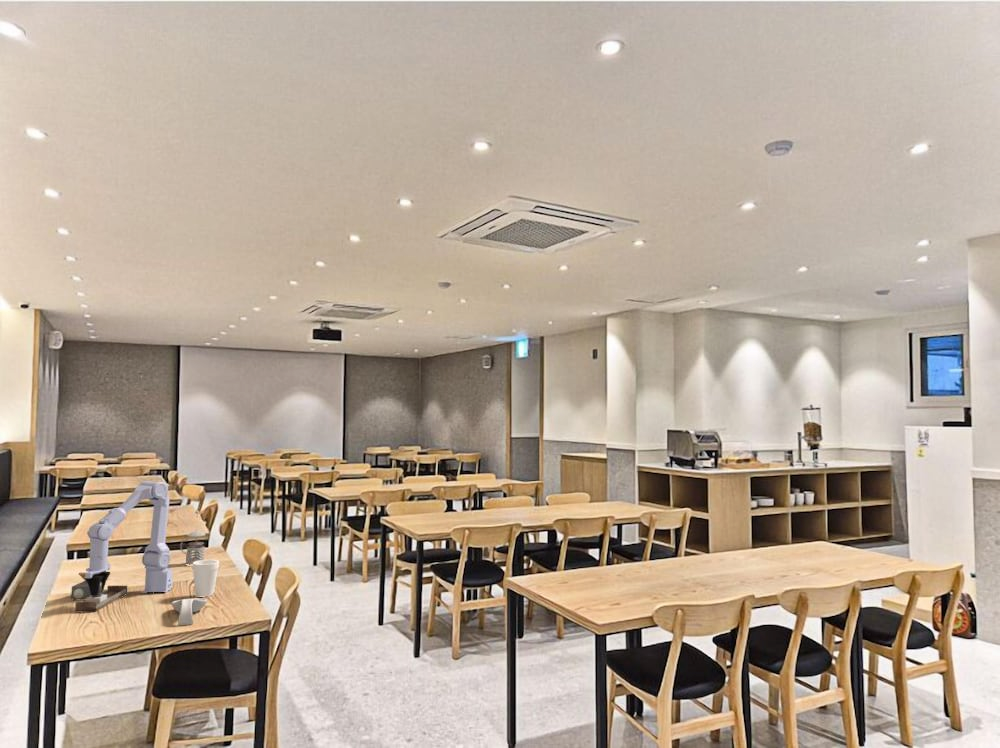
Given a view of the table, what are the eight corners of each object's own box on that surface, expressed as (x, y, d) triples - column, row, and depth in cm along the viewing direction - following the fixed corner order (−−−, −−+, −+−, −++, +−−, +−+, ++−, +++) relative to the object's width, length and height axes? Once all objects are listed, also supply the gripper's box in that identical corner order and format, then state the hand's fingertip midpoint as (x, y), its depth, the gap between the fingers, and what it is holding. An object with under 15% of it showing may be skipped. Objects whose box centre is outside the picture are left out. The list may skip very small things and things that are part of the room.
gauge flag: (96, 581, 265) (96, 579, 265) (89, 574, 259) (89, 572, 260) (85, 581, 264) (86, 579, 265) (78, 574, 259) (78, 572, 259)
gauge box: (99, 593, 266) (100, 580, 266) (85, 600, 256) (86, 586, 256) (84, 593, 265) (85, 580, 266) (70, 600, 255) (71, 586, 256)
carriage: (106, 600, 251) (107, 580, 251) (100, 603, 246) (101, 584, 246) (92, 600, 251) (93, 580, 251) (85, 603, 246) (86, 584, 246)
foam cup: (217, 592, 270) (219, 559, 271) (217, 597, 262) (218, 563, 263) (191, 593, 267) (193, 560, 268) (190, 599, 258) (191, 565, 259)
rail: (126, 594, 265) (127, 585, 265) (95, 611, 241) (96, 602, 241) (108, 594, 264) (108, 585, 264) (75, 612, 240) (75, 602, 241)
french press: (204, 566, 317) (206, 512, 318) (177, 566, 314) (179, 512, 316) (208, 561, 326) (210, 509, 328) (182, 562, 323) (184, 509, 325)
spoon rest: (172, 609, 247) (173, 589, 247) (207, 606, 251) (208, 586, 252) (166, 627, 225) (167, 606, 225) (205, 624, 229) (206, 602, 230)
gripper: (97, 552, 256) (95, 588, 255) (76, 560, 242) (74, 599, 241) (116, 552, 257) (115, 588, 256) (97, 560, 242) (95, 598, 242)
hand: (96, 593), depth 249 cm, fingers closed on carriage, 3 cm apart
